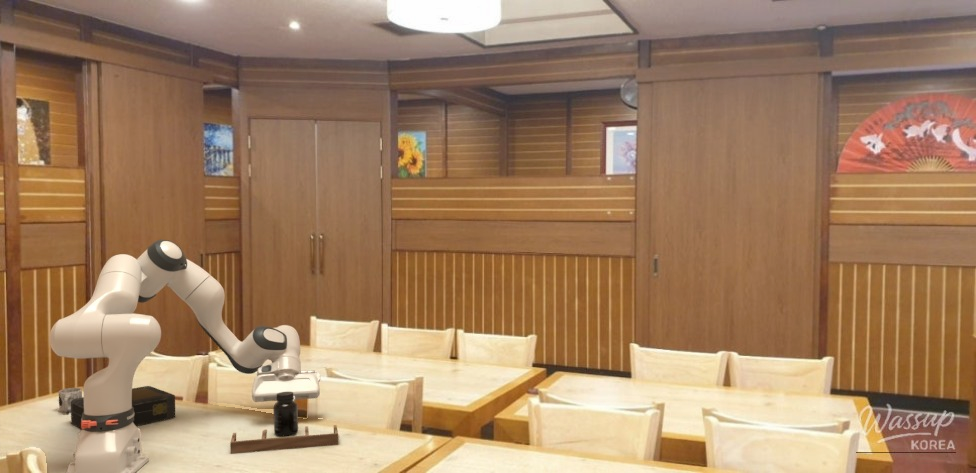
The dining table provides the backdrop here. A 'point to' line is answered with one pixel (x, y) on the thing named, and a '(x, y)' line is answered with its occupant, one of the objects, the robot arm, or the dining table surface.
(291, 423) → the supplement bottle
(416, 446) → the dining table surface
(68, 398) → the mug
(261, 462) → the dining table surface
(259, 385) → the robot arm
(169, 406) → the cash box
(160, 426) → the dining table surface
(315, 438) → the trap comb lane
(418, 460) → the dining table surface
